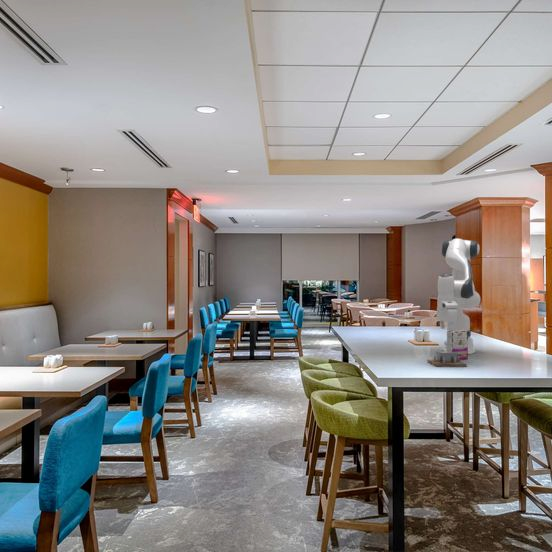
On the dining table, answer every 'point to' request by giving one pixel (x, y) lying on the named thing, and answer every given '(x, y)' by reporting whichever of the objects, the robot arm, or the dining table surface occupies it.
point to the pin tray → (452, 364)
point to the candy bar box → (458, 343)
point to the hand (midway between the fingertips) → (445, 329)
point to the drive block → (446, 356)
